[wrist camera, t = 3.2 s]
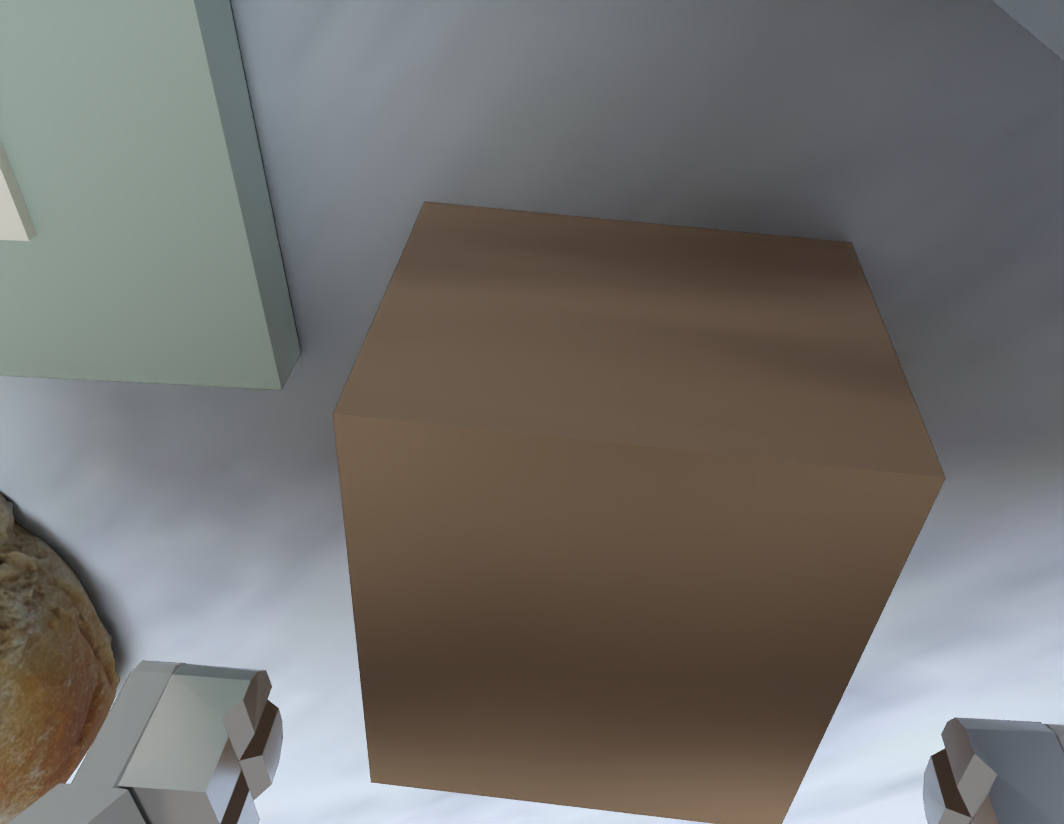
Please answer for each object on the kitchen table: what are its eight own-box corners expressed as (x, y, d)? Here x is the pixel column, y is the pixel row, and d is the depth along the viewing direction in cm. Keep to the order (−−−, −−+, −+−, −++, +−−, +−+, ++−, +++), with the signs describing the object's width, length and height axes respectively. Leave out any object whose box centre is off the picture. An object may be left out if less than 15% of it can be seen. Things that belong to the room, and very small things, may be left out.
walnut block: (426, 196, 13) (333, 414, 9) (849, 237, 13) (945, 478, 9) (432, 536, 17) (371, 782, 13) (745, 570, 17) (778, 830, 13)
